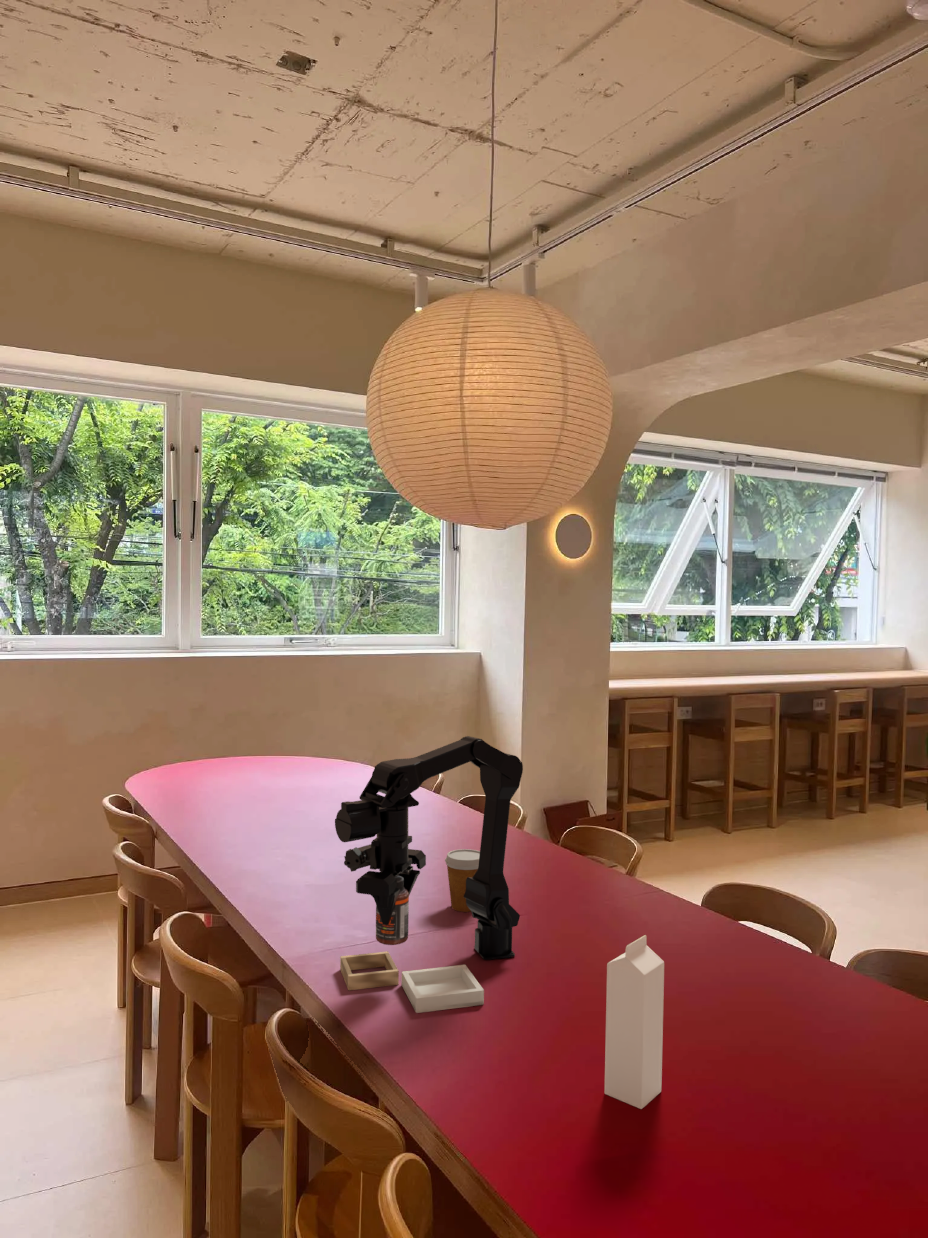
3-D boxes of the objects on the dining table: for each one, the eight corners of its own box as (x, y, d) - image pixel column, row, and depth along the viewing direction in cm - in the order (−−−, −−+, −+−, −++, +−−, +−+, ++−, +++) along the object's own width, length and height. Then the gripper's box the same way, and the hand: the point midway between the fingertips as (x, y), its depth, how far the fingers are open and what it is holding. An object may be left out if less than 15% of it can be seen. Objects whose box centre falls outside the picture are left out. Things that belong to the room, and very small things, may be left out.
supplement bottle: (369, 943, 160) (370, 881, 159) (384, 932, 165) (384, 871, 165) (400, 948, 158) (400, 885, 157) (413, 936, 163) (414, 875, 163)
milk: (661, 1092, 128) (666, 940, 127) (641, 1110, 123) (646, 952, 122) (624, 1076, 131) (628, 929, 131) (602, 1094, 127) (607, 940, 126)
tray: (465, 978, 164) (465, 964, 164) (483, 1004, 154) (484, 990, 154) (401, 985, 161) (401, 971, 161) (416, 1013, 150) (416, 998, 150)
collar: (387, 964, 170) (388, 951, 170) (398, 984, 161) (398, 971, 161) (340, 969, 167) (340, 956, 167) (348, 990, 158) (348, 976, 158)
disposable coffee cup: (482, 916, 196) (483, 862, 195) (440, 912, 198) (440, 859, 197) (489, 902, 205) (490, 850, 205) (449, 898, 207) (450, 847, 207)
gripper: (373, 816, 172) (373, 896, 173) (328, 842, 154) (328, 931, 155) (426, 821, 169) (426, 902, 169) (387, 849, 151) (387, 939, 152)
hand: (392, 918), depth 161 cm, fingers closed on supplement bottle, 6 cm apart
